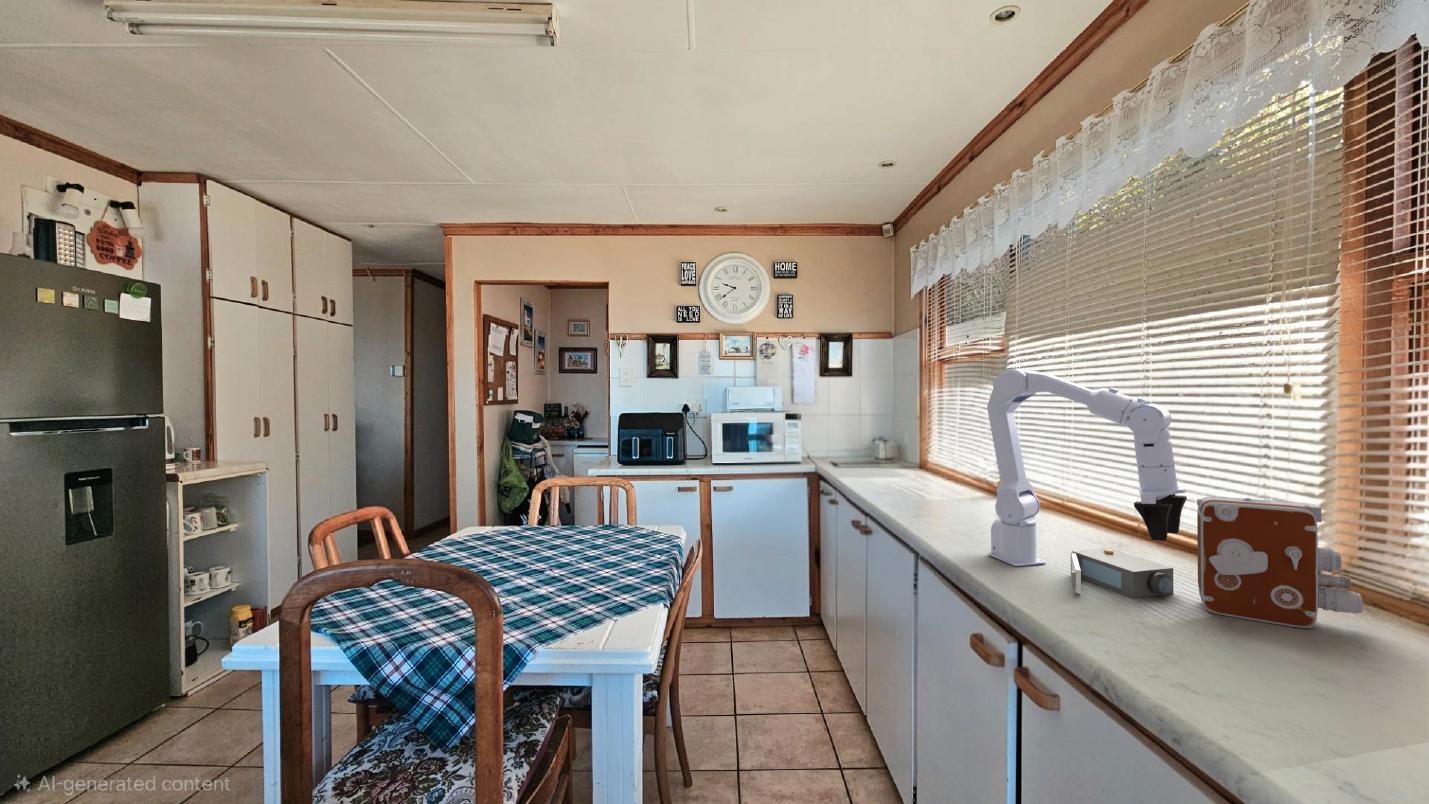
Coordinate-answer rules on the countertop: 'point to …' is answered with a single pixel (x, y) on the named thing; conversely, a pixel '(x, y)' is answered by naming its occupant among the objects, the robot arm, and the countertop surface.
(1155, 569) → the camera body
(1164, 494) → the robot arm
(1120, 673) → the countertop surface
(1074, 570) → the side door
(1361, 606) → the cine camera
